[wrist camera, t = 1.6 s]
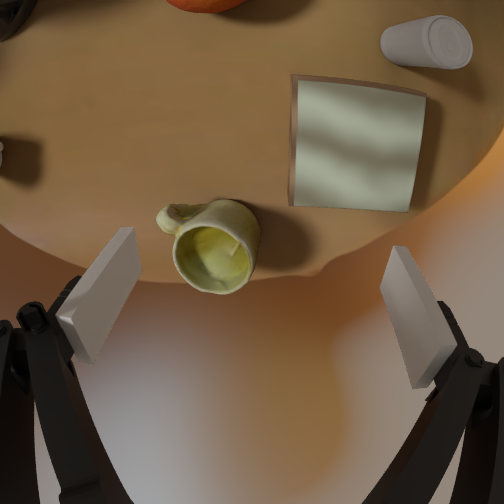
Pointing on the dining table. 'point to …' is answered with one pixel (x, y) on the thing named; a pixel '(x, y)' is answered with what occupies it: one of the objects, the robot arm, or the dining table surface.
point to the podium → (353, 143)
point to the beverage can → (428, 43)
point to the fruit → (205, 5)
